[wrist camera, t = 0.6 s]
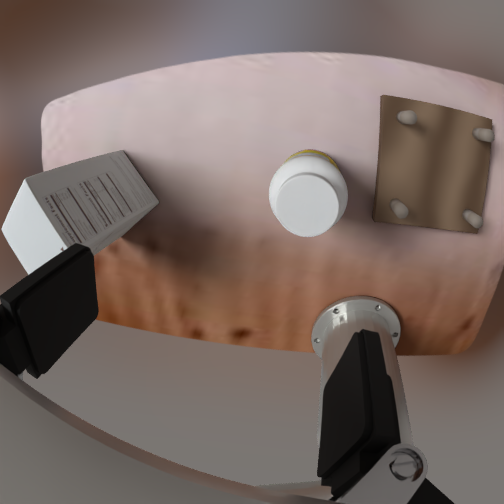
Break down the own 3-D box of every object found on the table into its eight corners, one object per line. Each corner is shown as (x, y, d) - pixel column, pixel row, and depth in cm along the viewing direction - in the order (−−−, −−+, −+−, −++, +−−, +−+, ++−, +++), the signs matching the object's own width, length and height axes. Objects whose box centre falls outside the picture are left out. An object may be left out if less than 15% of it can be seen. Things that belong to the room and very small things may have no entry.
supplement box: (123, 147, 36) (24, 173, 21) (161, 201, 38) (75, 255, 23) (86, 189, 40) (-2, 229, 25) (120, 238, 42) (40, 296, 27)
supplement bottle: (333, 211, 34) (341, 258, 23) (277, 200, 35) (255, 241, 23) (345, 154, 31) (361, 172, 20) (285, 143, 32) (267, 154, 21)
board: (486, 119, 25) (505, 120, 21) (472, 229, 31) (487, 243, 27) (380, 96, 28) (389, 92, 24) (372, 217, 33) (379, 230, 29)
